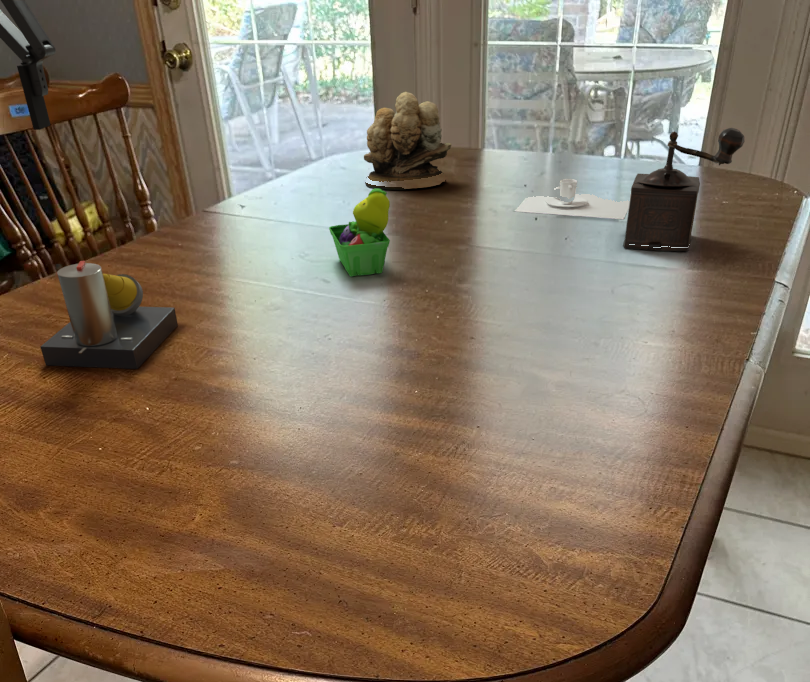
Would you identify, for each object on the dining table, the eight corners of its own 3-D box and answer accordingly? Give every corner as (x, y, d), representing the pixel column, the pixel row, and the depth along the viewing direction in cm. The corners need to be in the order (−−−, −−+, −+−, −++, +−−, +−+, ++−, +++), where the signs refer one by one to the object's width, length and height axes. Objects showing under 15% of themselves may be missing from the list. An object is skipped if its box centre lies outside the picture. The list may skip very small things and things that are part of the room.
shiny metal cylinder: (114, 344, 101) (96, 273, 96) (72, 347, 101) (52, 275, 95) (120, 329, 105) (103, 259, 100) (80, 331, 105) (61, 261, 99)
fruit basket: (329, 257, 134) (324, 184, 127) (383, 252, 136) (380, 179, 129) (343, 280, 125) (338, 202, 118) (400, 274, 127) (398, 197, 120)
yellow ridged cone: (159, 311, 111) (122, 279, 101) (125, 331, 111) (85, 301, 102) (142, 279, 112) (104, 244, 102) (109, 299, 112) (68, 266, 103)
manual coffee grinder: (621, 249, 134) (637, 127, 123) (627, 230, 142) (643, 114, 132) (721, 257, 130) (747, 131, 119) (722, 236, 138) (746, 117, 128)
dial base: (39, 371, 101) (33, 350, 100) (94, 322, 114) (89, 303, 112) (132, 374, 100) (127, 354, 98) (178, 325, 112) (174, 306, 111)
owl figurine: (449, 175, 177) (450, 85, 166) (452, 189, 167) (453, 94, 157) (365, 177, 177) (361, 87, 167) (363, 191, 167) (358, 97, 157)
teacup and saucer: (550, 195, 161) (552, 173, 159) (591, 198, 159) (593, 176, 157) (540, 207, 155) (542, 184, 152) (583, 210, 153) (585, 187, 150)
